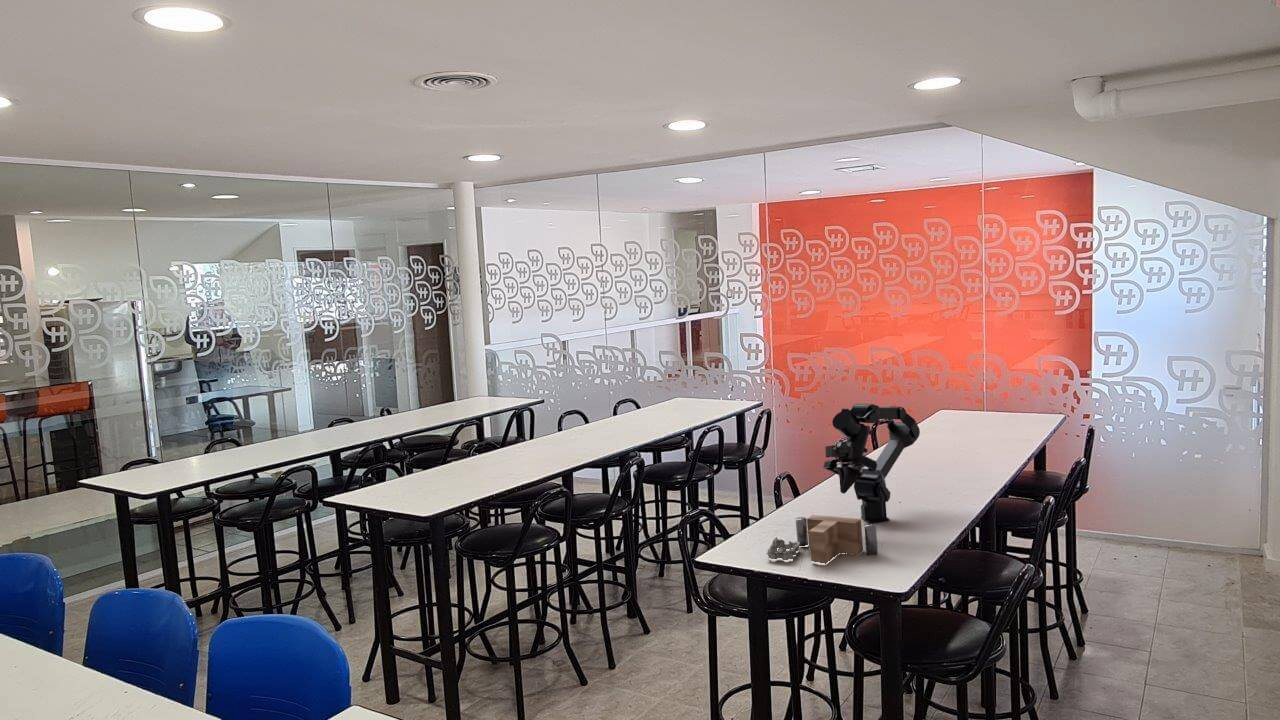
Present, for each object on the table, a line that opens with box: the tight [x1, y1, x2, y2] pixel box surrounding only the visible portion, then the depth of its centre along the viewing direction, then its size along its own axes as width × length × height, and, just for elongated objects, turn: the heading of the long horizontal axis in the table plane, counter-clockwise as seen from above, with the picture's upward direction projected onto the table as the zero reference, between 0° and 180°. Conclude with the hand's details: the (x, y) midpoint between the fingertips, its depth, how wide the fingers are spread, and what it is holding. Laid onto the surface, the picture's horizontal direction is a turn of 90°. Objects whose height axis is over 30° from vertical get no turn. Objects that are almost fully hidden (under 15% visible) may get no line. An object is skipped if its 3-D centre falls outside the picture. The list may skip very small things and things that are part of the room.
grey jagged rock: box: [766, 536, 800, 560], centre depth 234 cm, size 11×8×4 cm
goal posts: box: [795, 516, 879, 556], centre depth 234 cm, size 3×23×8 cm, turn 55°
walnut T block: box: [806, 514, 864, 564], centre depth 230 cm, size 14×14×9 cm
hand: (842, 493), depth 247 cm, fingers closed
